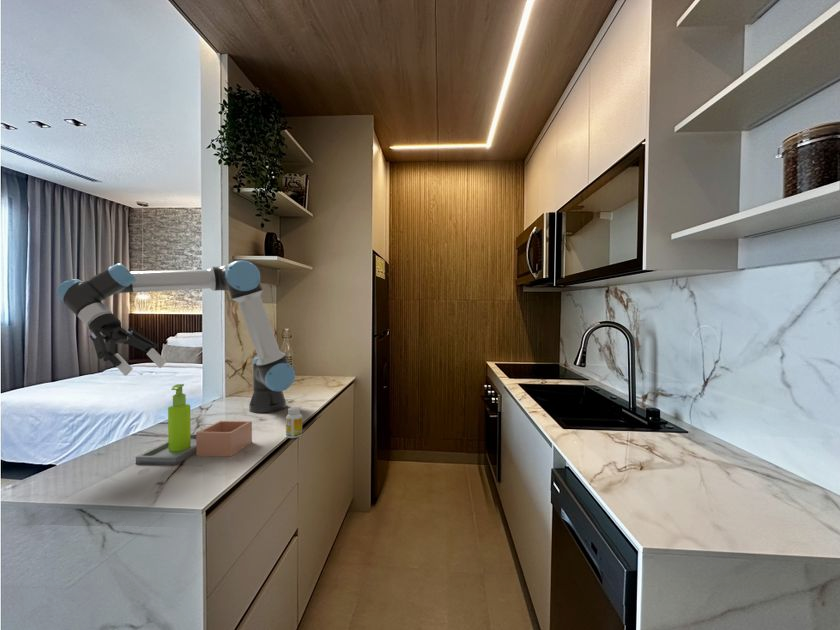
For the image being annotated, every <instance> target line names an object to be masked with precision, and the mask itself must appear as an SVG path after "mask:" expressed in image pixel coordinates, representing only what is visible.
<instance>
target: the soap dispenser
mask: <svg viewBox="0 0 840 630" xmlns="http://www.w3.org/2000/svg"><path fill="white" fill-rule="evenodd" d="M184 386H185V383H180V384H179V383H178V384H175V385H173V386H172V387H171V391H175V394H173V396H172V405H171V406H168V407H167V422H168V423H167V426H168V427H167V435H168V436H167V437H168V440H167V441H168V450H169V451H171V452H178V451H183V450H186V449H189V448H190V447H191V434H192V433H191V432H192V431H191V430H192V429H191V426H192V425H191V404H187V402H186V401H187V400H186V399H187V397H186V394H185V393H183V387H184Z"/></svg>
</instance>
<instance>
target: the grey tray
mask: <svg viewBox="0 0 840 630" xmlns="http://www.w3.org/2000/svg"><path fill="white" fill-rule="evenodd" d="M195 454H197V446H196V433H191V447H190V448H189V449H186V450H183V451H178V452H171V451H169V450H168V440H167V441H166V442H163V443H162V444H161V443H160V444H159V445H158V446H155V447H153V448H151V449H149V450H147V451H145V452H143V453H140V454H139V455H137V456H135V465H139V464H140V465H161V466H162V465H164V466H165V465H166V466H168V465H169V466H176V465H178V464H180V463H181V462H183V461H184V460H187V459H188V458H190V457H191V456H193V455H195ZM186 458H187V459H186ZM179 462H180V463H179Z"/></svg>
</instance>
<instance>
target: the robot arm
mask: <svg viewBox="0 0 840 630" xmlns="http://www.w3.org/2000/svg"><path fill="white" fill-rule="evenodd" d="M200 289H201V290H203V289H204V290H205V289H209V290H212V291H216V292H218V291H225V292H229V295H230V298H231V300H232V301H235V302H236V303H238V306H239V309H240V313H241V315H242V318H243V320H244V324H245V327H246V328H247V330H248V333H249V336H250V339H251V342H252V344H253V347H254V350H255V352H256V355H257V357H254V358H253V359H252V361H253V362H252V376H253V377H252V379H253V380H252V381H253V382H252V383H253V392H252V396H251V399H250V401H249V405H248V407H249V412H252V413H259V414H261V413H265V414H266V413H272V412H273V411H274V412H277V411H281V410H284V409H285V408H286V407H287V401H286V397H285V394H284V391H286V390H288V389H289V388H291V386H292V385H293V383H294V381H295V379H296V372H295V369H294V368H293V366H292V365H291V364H290V363H289V360H288V358H287V355H286V353H285V352H283V351H281V350H280V348H279V344H278V342H277V339H276V337H275V334H274V331H273V327H272V325H271V322H270V319H269V317H268V314H267V311H266V308H265V306H264V305H265V304H264V302H263V300H262V299H263V298H262V297H261V295H262V293H263V288H262V285H261V273H260V270H259V268H258V267H257V266H256V265H255V264H254V263H252V262H251V261H248V260H242V259H240V260H239V259H238V260H234V261H231V262H230V263H228V264H225V265H221V266H210V267H209V268H208V269H182V270H180V269H178V270H176V269H175V270H145V271H143V270H141V271H140V270H138V271H130V270H129V269H128V268H127V267H126V266H125V265H124V264H122V263H120V262H119V263H116V264H114V265H111V266H109V267H107V268H106V269H104V270H103V271H101V272H98V273H97V274H96V275H93V276H92V277H89V278H88V279H86V280H80V279H77V278H72V279H70V280H65V281H63V282H61V283H60V284H59V285H58V286H57V287H56V290H55V292H56V295H57V296H58V297H59V299H60V300H61V301H62V303H63V305H65V306H66V307H67V308H68V309H69V310H70V311H71V312H72V313H73V314H74V315H75V316H76V317H77V318H78V319H79V320H80V321H81V322H82V323H83V324H84V325H85V327H87V328H88V330H90V332H91V334H90V335H89V336H88V337H89V338H90V339H91V340H92V342H93V346H94V349H95V352H96V356H97V358H98V359H99V360H102V359H103V362H108V361H109V362H110V363H111V364H112V365H113V367H114V366H115V367H116V368H117V370H119V371H120V373H122V374H123V375H124V376H126V377H127V376H128V375H129V374H130V373H131V371H133V367H132V366H131V365H130V364H129V363H128V361H126V360H125V359H124V358H123V357H122V356H121V355H120V354H119V353H118V352H117V353H115V349H116V345H117V344H124V345H126V346H127V345H129V346H132V347H134V348H136V349H138V350H141V351H143V352H145V353H146V355H147V356H148V358H150V359H151V361H152V362H153V363H154V364H155V365H156V366H157V367H158V368H159V369H161V368H163V367H164V365H165V364H166V363H167V361H166V360H165V358H163V356H162V355H161V354H160V353H159V352H158V351H157V350H156V348H157V347H158V344H157V343H156V342H154V341H152V340H151V339H149V338H147V337H145V336H144V335H142V334H141V333H139V332H137V330H135V329H134V328H133V327H129V328H128V329H124V327H122V322H121V320H120V319H119V318H118V317H117V316H116V314H114V313H113V311H111V309H109V308H108V307H107V305H105V304H104V302H103V301H104V300H105V301H106V299H108V298H109V297H111V296H113V295H116V294H117V295H119V294H126V293H128V294H129V293H141V292H144V293H145V292H159V291H160V292H164V291H165V292H167V291H181V290H182V291H185V290H200ZM274 412H273V413H274Z"/></svg>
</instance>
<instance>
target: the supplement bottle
mask: <svg viewBox="0 0 840 630" xmlns="http://www.w3.org/2000/svg"><path fill="white" fill-rule="evenodd" d="M287 413H288V414H287V415H286V416H285V436H286V438H287V439H296V438H300V437H302V435H303V414H302V413H301V407H299V406H293V407H292V406H291V407H288V409H287Z"/></svg>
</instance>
